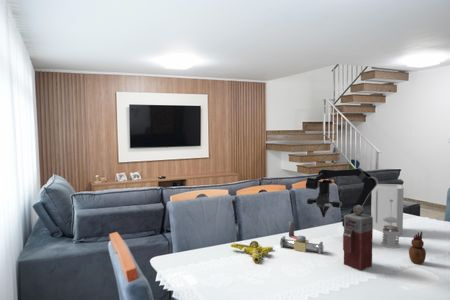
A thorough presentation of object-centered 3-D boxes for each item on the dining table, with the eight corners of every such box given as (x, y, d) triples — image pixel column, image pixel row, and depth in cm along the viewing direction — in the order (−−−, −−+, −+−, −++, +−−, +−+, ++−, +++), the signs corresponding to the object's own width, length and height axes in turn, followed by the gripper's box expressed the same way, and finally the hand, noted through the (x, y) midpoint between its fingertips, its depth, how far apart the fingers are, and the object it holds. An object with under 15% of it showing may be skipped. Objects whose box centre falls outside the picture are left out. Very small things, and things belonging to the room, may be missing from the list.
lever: (307, 240, 174) (307, 224, 173) (301, 242, 171) (301, 226, 171) (292, 235, 182) (292, 220, 182) (286, 237, 180) (286, 221, 179)
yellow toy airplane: (277, 263, 157) (272, 247, 176) (276, 250, 156) (271, 235, 176) (230, 267, 157) (231, 250, 177) (229, 254, 157) (230, 239, 177)
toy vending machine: (340, 265, 153) (340, 205, 152) (355, 260, 160) (356, 202, 158) (357, 272, 146) (358, 209, 144) (372, 266, 152) (373, 205, 150)
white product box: (414, 233, 200) (415, 187, 199) (397, 236, 194) (398, 189, 192) (386, 225, 217) (387, 182, 216) (370, 228, 211) (371, 184, 210)
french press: (381, 246, 177) (381, 200, 176) (379, 240, 188) (380, 196, 187) (401, 248, 174) (402, 201, 172) (399, 242, 184) (400, 197, 183)
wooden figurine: (423, 261, 157) (424, 230, 156) (426, 266, 152) (427, 233, 151) (407, 259, 159) (408, 228, 159) (410, 264, 154) (410, 232, 153)
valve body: (323, 250, 172) (323, 241, 172) (321, 254, 167) (321, 245, 166) (283, 244, 183) (283, 235, 182) (279, 247, 177) (279, 238, 177)
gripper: (303, 191, 190) (303, 217, 191) (336, 194, 180) (336, 222, 181) (310, 188, 199) (310, 213, 200) (342, 191, 189) (341, 218, 190)
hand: (323, 217), depth 192 cm, fingers closed
